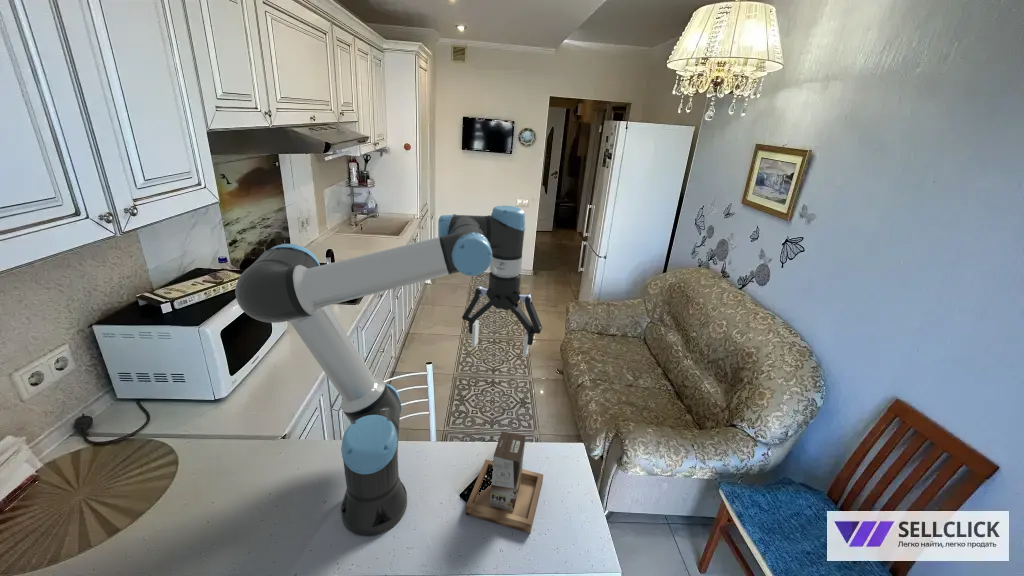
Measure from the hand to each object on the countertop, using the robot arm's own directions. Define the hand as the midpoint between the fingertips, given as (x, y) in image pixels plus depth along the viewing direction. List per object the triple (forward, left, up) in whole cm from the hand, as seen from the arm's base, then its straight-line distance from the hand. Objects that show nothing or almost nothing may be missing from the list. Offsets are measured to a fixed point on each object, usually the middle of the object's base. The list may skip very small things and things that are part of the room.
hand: (499, 349), depth 104 cm
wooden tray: (+8, -14, -35) cm, 38 cm away
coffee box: (+8, -13, -34) cm, 37 cm away
